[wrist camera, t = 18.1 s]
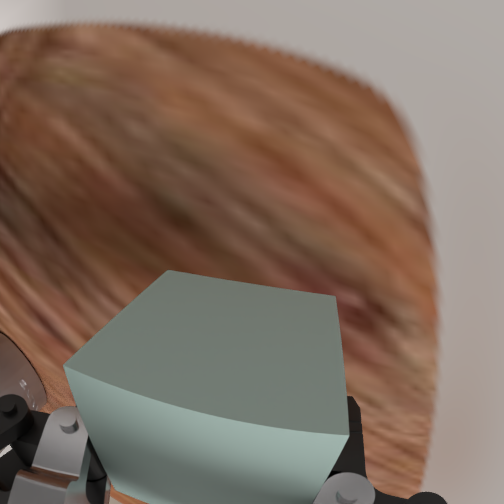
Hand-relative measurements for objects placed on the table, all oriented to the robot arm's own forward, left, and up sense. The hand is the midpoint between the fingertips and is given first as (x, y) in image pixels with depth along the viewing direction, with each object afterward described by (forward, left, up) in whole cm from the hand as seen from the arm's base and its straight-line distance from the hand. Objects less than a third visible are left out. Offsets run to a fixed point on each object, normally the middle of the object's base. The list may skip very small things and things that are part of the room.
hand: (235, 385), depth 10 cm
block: (0, +1, 0) cm, 1 cm away
